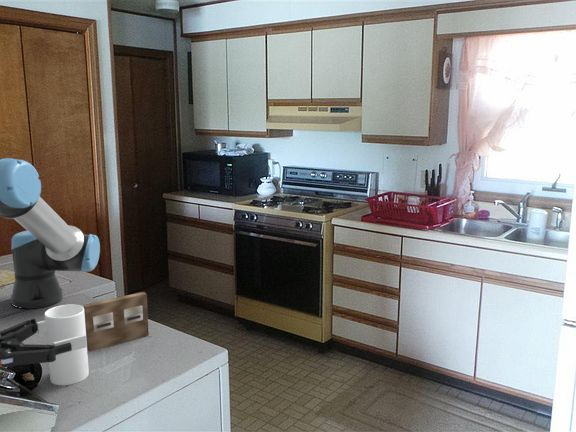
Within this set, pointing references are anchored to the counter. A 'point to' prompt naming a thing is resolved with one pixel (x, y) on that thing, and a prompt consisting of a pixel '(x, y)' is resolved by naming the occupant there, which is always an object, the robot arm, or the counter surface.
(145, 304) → the label board
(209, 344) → the counter surface
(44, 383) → the counter surface
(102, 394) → the counter surface
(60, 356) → the cup
